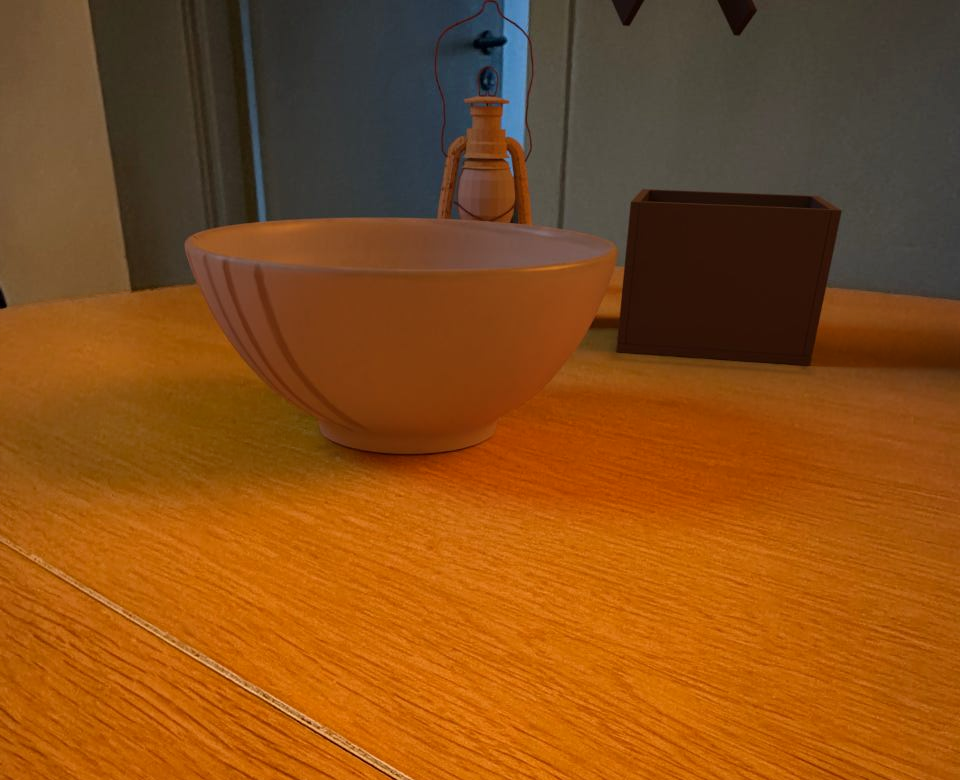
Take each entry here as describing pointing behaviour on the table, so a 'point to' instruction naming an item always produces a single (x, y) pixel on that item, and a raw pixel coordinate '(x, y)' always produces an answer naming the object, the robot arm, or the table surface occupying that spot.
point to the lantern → (486, 161)
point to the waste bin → (726, 275)
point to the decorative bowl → (402, 318)
